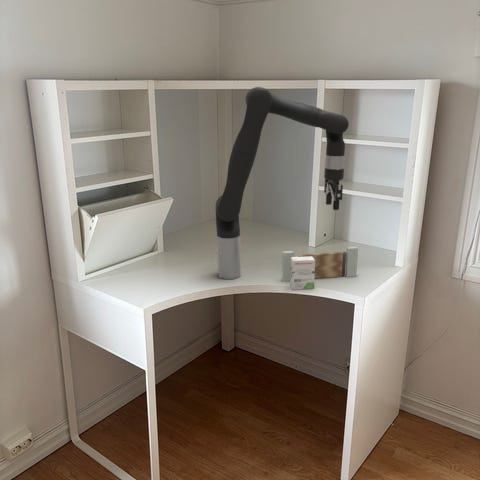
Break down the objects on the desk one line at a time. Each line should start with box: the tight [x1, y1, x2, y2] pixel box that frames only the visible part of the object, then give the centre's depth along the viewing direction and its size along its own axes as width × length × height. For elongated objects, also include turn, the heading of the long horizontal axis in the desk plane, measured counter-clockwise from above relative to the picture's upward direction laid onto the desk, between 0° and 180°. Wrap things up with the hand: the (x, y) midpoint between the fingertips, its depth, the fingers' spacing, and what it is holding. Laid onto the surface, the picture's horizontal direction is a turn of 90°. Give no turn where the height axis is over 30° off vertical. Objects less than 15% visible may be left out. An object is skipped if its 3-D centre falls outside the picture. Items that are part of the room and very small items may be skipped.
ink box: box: [290, 256, 316, 290], centre depth 187 cm, size 9×5×12 cm, turn 93°
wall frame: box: [281, 246, 359, 283], centre depth 195 cm, size 30×2×12 cm, turn 99°
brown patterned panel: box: [297, 251, 346, 279], centre depth 196 cm, size 20×2×10 cm, turn 99°
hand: (332, 207), depth 197 cm, fingers open, 8 cm apart
